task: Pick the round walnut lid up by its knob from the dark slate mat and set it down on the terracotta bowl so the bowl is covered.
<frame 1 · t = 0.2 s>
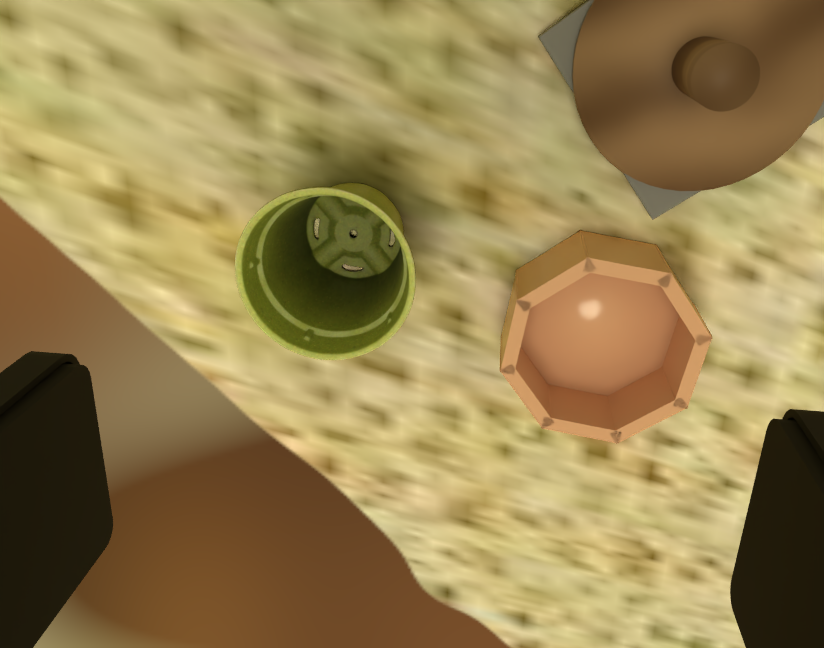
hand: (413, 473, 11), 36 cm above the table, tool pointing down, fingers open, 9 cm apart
plant pot: (355, 228, 48), on the table
bowl: (594, 319, 48), on the table
lid: (698, 65, 41), point 1 cm above the table, touching mat
mat: (694, 63, 42), on the table
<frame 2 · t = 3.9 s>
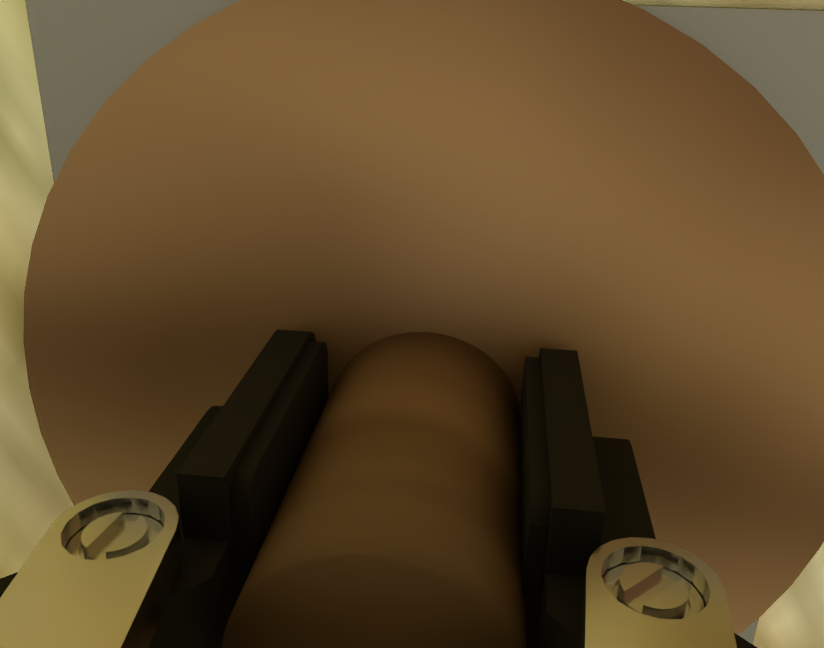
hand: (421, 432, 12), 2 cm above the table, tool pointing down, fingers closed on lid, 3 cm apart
lid: (429, 395, 13), point 1 cm above the table, touching gripper, mat
mat: (435, 367, 14), on the table
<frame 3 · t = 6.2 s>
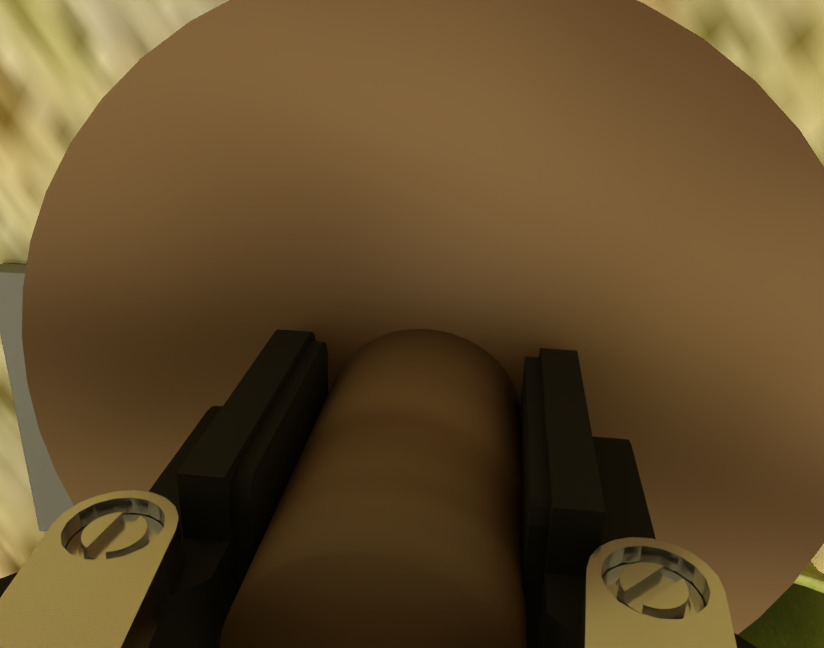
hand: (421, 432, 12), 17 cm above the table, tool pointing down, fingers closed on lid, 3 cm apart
plant pot: (677, 513, 32), on the table
lid: (429, 393, 13), point 16 cm above the table, touching gripper
mat: (167, 410, 32), on the table
when the fingers open (8 cm above the table, at t = 8.4 s): lid drops 1 cm, resting on bowl.
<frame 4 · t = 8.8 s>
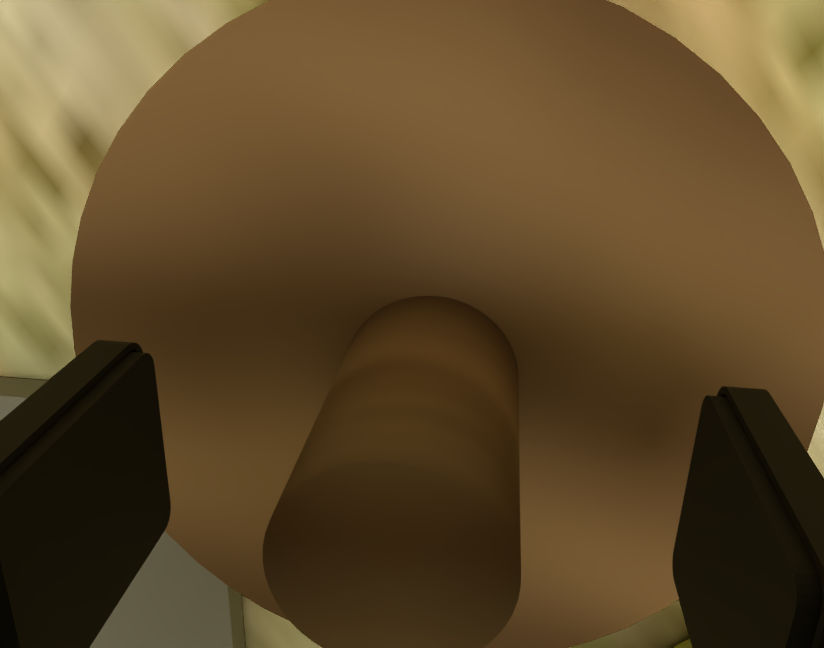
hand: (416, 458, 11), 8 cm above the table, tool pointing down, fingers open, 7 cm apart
lid: (435, 356, 14), point 5 cm above the table, touching bowl
mat: (49, 552, 24), on the table
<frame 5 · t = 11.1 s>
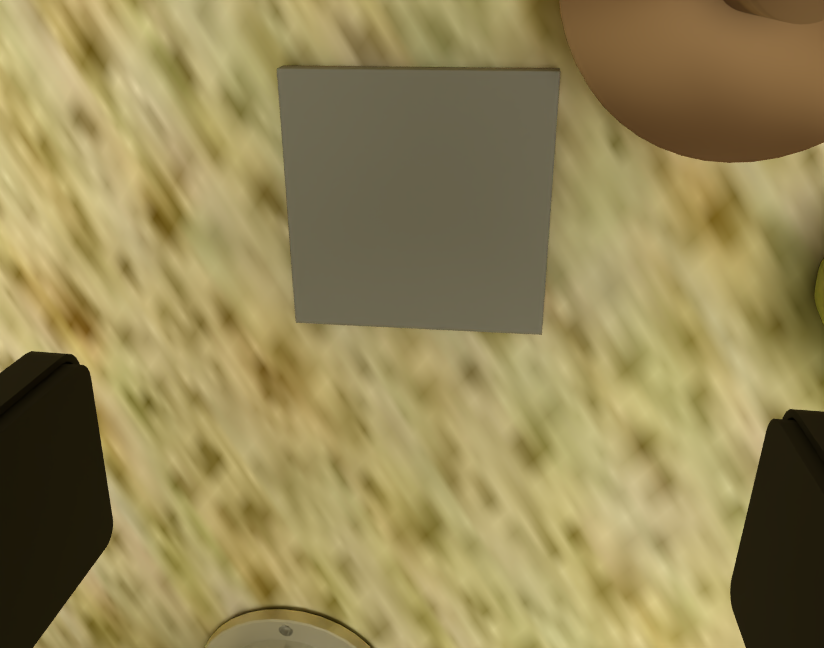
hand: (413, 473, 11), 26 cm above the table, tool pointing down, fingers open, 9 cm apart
mat: (418, 202, 36), on the table
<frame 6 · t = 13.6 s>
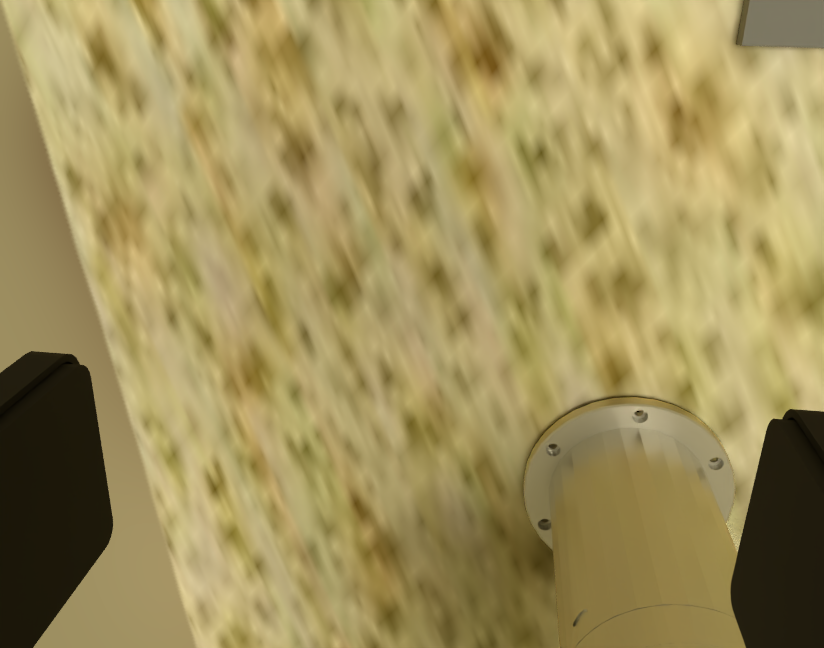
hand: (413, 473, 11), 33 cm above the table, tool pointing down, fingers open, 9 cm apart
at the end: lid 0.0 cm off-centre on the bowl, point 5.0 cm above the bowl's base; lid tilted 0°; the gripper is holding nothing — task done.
